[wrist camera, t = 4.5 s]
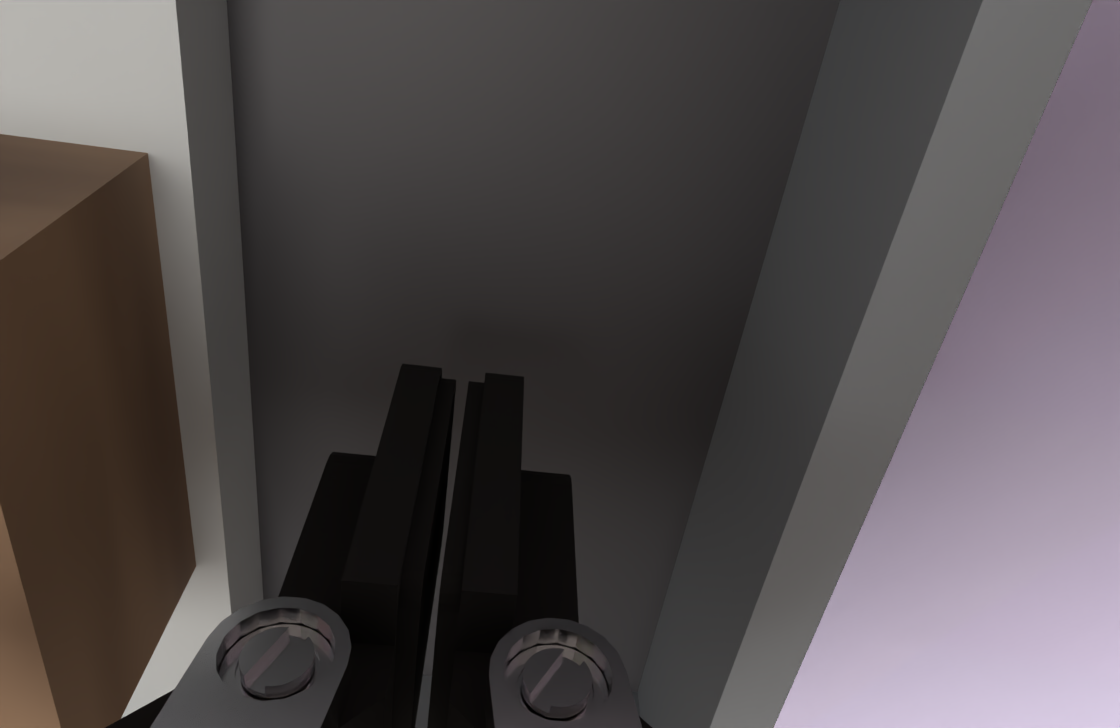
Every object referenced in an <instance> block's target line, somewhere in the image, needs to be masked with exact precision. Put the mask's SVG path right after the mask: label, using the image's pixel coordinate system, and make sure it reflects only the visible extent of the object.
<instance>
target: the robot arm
mask: <svg viewBox="0 0 1120 728" xmlns="http://www.w3.org/2000/svg"><path fill="white" fill-rule="evenodd" d="M455 392H456V380H454V379H445V378H442V368H440V367H430V366H421V365H412V364H402V365H401V368H400V372H399V375H398V379H397V382H396V386H395V389H394V393H393V396H392V400H391V404H390V407H389V411H388V414H387V418H386V421H385V425H384V429H383V432H382V436H381V439H380V443H379V446H378V450H377V454H376V456H372V455H362V454H351V453H341V452H332V453H331V454H330V456H329V458H328V460H327V463H326V465H325V468H324V471H323V474H322V476H321V479H320V482H319V485H318V488H317V490H316V493H315V496H314V499H313V501H312V504H311V507H310V510H309V512H308V515H307V518H306V521H305V524H304V526H303V529H302V532H301V535H300V537H299V540H298V543H297V546H296V549H295V551H294V554H293V557H292V560H291V562H290V565H289V568H288V571H287V574H286V576H285V579H284V582H283V585H282V587H281V590H280V593H279V596H278V597H277V598H271V599H264V600H260V601H258V602H255V603H252V604H250V605H247V606H245V607H242V608H240V609H238V610H237V611H235V612H234V613H232V614H231V615H230V616H228V617H227V618H225V619H224V620H222V621H221V622H220V623H219V624H218V626H217V627H216V628H215V629H214V630H213V631H212V633H211V634H210V635H209V636H208V637H207V639H206V640H205V642H204V643H203V645H202V647H201V648H200V650H199V651H198V653H197V654H196V656H195V658H194V659H193V661H192V662H191V664H190V665H189V667H188V669H187V670H186V672H185V673H184V675H183V676H182V678H181V680H180V681H179V683H178V684H177V686H176V687H175V689H174V690H172V691H170V692H168V693H167V694H165V695H163V696H161V697H159V698H157V699H156V700H154V701H152V702H150V703H148V704H147V705H145V706H143V707H141V708H139V709H138V710H136V711H134V712H132V713H130V714H129V715H127V716H125V717H123V718H121V719H120V720H118V721H116V722H114V723H112V724H111V725H109V726H107V727H105V728H415V725H416V718H417V711H418V704H419V697H420V691H421V684H422V677H423V670H424V663H425V656H426V650H427V643H428V636H429V629H430V622H431V615H432V609H433V602H434V595H435V588H436V581H437V574H438V568H439V561H440V554H441V547H442V538H443V529H444V518H445V507H446V495H447V484H448V472H449V461H450V450H451V438H452V427H453V415H454V404H455ZM523 400H524V376H515V375H505V374H496V373H486V372H485V381H484V383H482V382H473V381H469V383H468V390H467V397H466V404H465V411H464V418H463V426H462V433H461V440H460V447H459V454H458V461H457V468H456V475H455V482H454V490H453V497H452V504H451V511H450V518H449V525H448V532H447V539H446V547H445V554H444V561H443V568H442V576H441V584H440V593H439V602H438V613H437V624H436V635H435V646H434V658H433V669H432V680H431V692H430V703H429V714H428V725H427V728H652V727H651V726H650V725H649V724H648V723H647V722H645V721H644V720H643V719H642V718H641V717H640V716H639V715H638V711H637V707H636V704H635V700H634V697H633V693H632V690H631V686H630V682H629V679H628V675H627V672H626V668H625V666H624V664H623V662H622V660H621V658H620V656H619V653H618V652H617V650H616V649H615V648H614V647H613V646H612V645H611V644H610V643H609V642H608V640H607V639H606V638H605V637H603V636H602V635H600V634H599V633H597V632H596V631H594V630H593V629H591V628H590V627H588V626H586V625H583V624H580V623H579V617H578V597H577V577H576V557H575V537H574V517H573V497H572V482H571V476H570V475H568V474H558V473H548V472H537V471H527V470H521V461H522V431H523Z"/></svg>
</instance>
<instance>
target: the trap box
mask: <svg viewBox="0 0 1120 728" xmlns="http://www.w3.org/2000/svg"><path fill="white" fill-rule="evenodd" d="M1091 3H1092V0H0V134H5V135H13V136H20V137H28V138H36V139H44V140H51V141H59V142H67V143H74V144H82V145H90V146H98V147H105V148H113V149H121V150H129V151H136V152H144V153H148V159H149V167H150V176H151V184H152V193H153V201H154V210H155V218H156V227H157V235H158V244H159V253H160V261H161V270H162V278H163V287H164V295H165V304H166V312H167V321H168V329H169V338H170V346H171V355H172V363H173V372H174V381H175V389H176V398H177V406H178V415H179V423H180V432H181V440H182V449H183V457H184V466H185V474H186V483H187V491H188V500H189V509H190V517H191V526H192V534H193V543H194V551H195V560H196V568H195V570H194V572H193V574H192V576H191V578H190V580H189V582H188V584H187V586H186V588H185V590H184V592H183V594H182V596H181V598H180V600H179V602H178V604H177V606H176V608H175V610H174V612H173V614H172V616H171V618H170V620H169V622H168V624H167V626H166V628H165V630H164V632H163V634H162V636H161V638H160V641H159V643H158V645H157V647H156V649H155V651H154V653H153V655H152V657H151V659H150V661H149V663H148V665H147V667H146V669H145V671H144V673H143V675H142V677H141V679H140V681H139V683H138V685H137V687H136V689H135V691H134V693H133V695H132V697H131V699H130V701H129V703H128V705H127V707H126V709H125V711H124V713H123V715H122V717H121V718H123V717H125V716H127V715H129V714H130V713H132V712H134V711H136V710H138V709H139V708H141V707H143V706H145V705H147V704H148V703H150V702H152V701H154V700H156V699H157V698H159V697H161V696H163V695H165V694H167V693H168V692H170V691H172V690H174V689H175V687H176V686H177V684H178V683H179V681H180V680H181V678H182V676H183V675H184V673H185V672H186V670H187V669H188V667H189V665H190V664H191V662H192V661H193V659H194V658H195V656H196V654H197V653H198V651H199V650H200V648H201V647H202V645H203V643H204V642H205V640H206V639H207V637H208V636H209V635H210V634H211V633H212V631H213V630H214V629H215V628H216V627H217V626H218V624H219V623H220V622H221V621H222V620H224V619H225V618H227V617H228V616H230V615H231V614H232V613H234V612H235V611H237V610H238V609H240V608H242V607H245V606H247V605H250V604H252V603H255V602H258V601H260V600H264V599H271V598H277V597H278V596H279V593H280V590H281V587H282V585H283V582H284V579H285V576H286V574H287V571H288V568H289V565H290V562H291V560H292V557H293V554H294V551H295V549H296V546H297V543H298V540H299V537H300V535H301V532H302V529H303V526H304V524H305V521H306V518H307V515H308V512H309V510H310V507H311V504H312V501H313V499H314V496H315V493H316V490H317V488H318V485H319V482H320V479H321V476H322V474H323V471H324V468H325V465H326V463H327V460H328V458H329V456H330V454H331V453H332V452H341V453H351V454H362V455H372V456H376V454H377V450H378V446H379V443H380V439H381V436H382V432H383V429H384V425H385V421H386V418H387V414H388V411H389V407H390V404H391V400H392V396H393V393H394V389H395V386H396V382H397V379H398V375H399V372H400V368H401V365H402V364H412V365H421V366H430V367H440V368H442V378H445V379H454V380H456V392H455V404H454V415H453V427H452V438H451V450H450V461H449V472H448V484H447V495H446V507H445V518H444V529H443V538H442V547H441V554H440V561H439V568H438V574H437V581H436V588H435V595H434V602H433V609H432V615H431V622H430V629H429V636H428V643H427V650H426V656H425V663H424V670H423V677H422V684H421V691H420V697H419V704H418V711H417V718H416V725H415V728H427V725H428V714H429V703H430V692H431V680H432V669H433V658H434V646H435V635H436V624H437V613H438V602H439V593H440V584H441V576H442V568H443V561H444V554H445V547H446V539H447V532H448V525H449V518H450V511H451V504H452V497H453V490H454V482H455V475H456V468H457V461H458V454H459V447H460V440H461V433H462V426H463V418H464V411H465V404H466V397H467V390H468V383H469V381H473V382H482V383H484V381H485V372H486V373H496V374H505V375H515V376H524V400H523V431H522V461H521V470H527V471H537V472H548V473H558V474H568V475H570V476H571V482H572V497H573V517H574V537H575V557H576V577H577V597H578V617H579V623H580V624H583V625H586V626H588V627H590V628H591V629H593V630H594V631H596V632H597V633H599V634H600V635H602V636H603V637H605V638H606V639H607V640H608V642H609V643H610V644H611V645H612V646H613V647H614V648H615V649H616V650H617V652H618V653H619V656H620V658H621V660H622V662H623V664H624V666H625V668H626V672H627V675H628V679H629V682H630V686H631V690H632V693H633V697H634V700H635V704H636V707H637V711H638V715H639V716H640V717H641V718H642V719H643V720H644V721H645V722H647V723H648V724H649V725H650V726H651V727H652V728H773V727H774V725H775V723H776V721H777V718H778V716H779V714H780V711H781V709H782V707H783V705H784V702H785V700H786V698H787V695H788V693H789V691H790V689H791V686H792V684H793V682H794V679H795V677H796V675H797V673H798V670H799V668H800V666H801V664H802V661H803V659H804V657H805V654H806V652H807V650H808V648H809V645H810V643H811V641H812V638H813V636H814V634H815V632H816V629H817V627H818V625H819V623H820V620H821V618H822V616H823V613H824V611H825V609H826V607H827V604H828V602H829V600H830V597H831V595H832V593H833V591H834V588H835V586H836V584H837V582H838V579H839V577H840V575H841V572H842V570H843V568H844V566H845V563H846V561H847V559H848V556H849V554H850V552H851V550H852V547H853V545H854V543H855V540H856V538H857V536H858V534H859V531H860V529H861V527H862V525H863V522H864V520H865V518H866V515H867V513H868V511H869V509H870V506H871V504H872V502H873V499H874V497H875V495H876V493H877V490H878V488H879V486H880V484H881V481H882V479H883V477H884V474H885V472H886V470H887V468H888V465H889V463H890V461H891V458H892V456H893V454H894V452H895V449H896V447H897V445H898V442H899V440H900V438H901V436H902V433H903V431H904V429H905V427H906V424H907V422H908V420H909V417H910V415H911V413H912V411H913V408H914V406H915V404H916V401H917V399H918V397H919V395H920V392H921V390H922V388H923V386H924V383H925V381H926V379H927V376H928V374H929V372H930V370H931V367H932V365H933V363H934V360H935V358H936V356H937V354H938V351H939V349H940V347H941V344H942V342H943V340H944V338H945V335H946V333H947V331H948V329H949V326H950V324H951V322H952V319H953V317H954V315H955V313H956V310H957V308H958V306H959V303H960V301H961V299H962V297H963V294H964V292H965V290H966V288H967V285H968V283H969V281H970V278H971V276H972V274H973V272H974V269H975V267H976V265H977V262H978V260H979V258H980V256H981V253H982V251H983V249H984V247H985V244H986V242H987V240H988V237H989V235H990V233H991V231H992V228H993V226H994V224H995V221H996V219H997V217H998V215H999V212H1000V210H1001V208H1002V205H1003V203H1004V201H1005V199H1006V196H1007V194H1008V192H1009V190H1010V187H1011V185H1012V183H1013V180H1014V178H1015V176H1016V174H1017V171H1018V169H1019V167H1020V164H1021V162H1022V160H1023V158H1024V155H1025V153H1026V151H1027V149H1028V146H1029V144H1030V142H1031V139H1032V137H1033V135H1034V133H1035V130H1036V128H1037V126H1038V123H1039V121H1040V119H1041V117H1042V114H1043V112H1044V110H1045V107H1046V105H1047V103H1048V101H1049V98H1050V96H1051V94H1052V92H1053V89H1054V87H1055V85H1056V82H1057V80H1058V78H1059V76H1060V73H1061V71H1062V69H1063V66H1064V64H1065V62H1066V60H1067V57H1068V55H1069V53H1070V51H1071V48H1072V46H1073V44H1074V41H1075V39H1076V37H1077V35H1078V32H1079V30H1080V28H1081V25H1082V23H1083V21H1084V19H1085V16H1086V14H1087V12H1088V10H1089V7H1090V5H1091Z"/></svg>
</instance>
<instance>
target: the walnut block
mask: <svg viewBox="0 0 1120 728" xmlns="http://www.w3.org/2000/svg"><path fill="white" fill-rule="evenodd" d="M195 568H196V560H195V551H194V543H193V534H192V526H191V517H190V509H189V500H188V491H187V483H186V474H185V466H184V457H183V449H182V440H181V432H180V423H179V415H178V406H177V398H176V389H175V381H174V372H173V363H172V355H171V346H170V338H169V329H168V321H167V312H166V304H165V295H164V287H163V278H162V270H161V261H160V253H159V244H158V235H157V227H156V218H155V210H154V201H153V193H152V184H151V176H150V167H149V159H148V153H144V152H136V151H129V150H121V149H113V148H105V147H98V146H90V145H82V144H74V143H67V142H59V141H51V140H44V139H36V138H28V137H20V136H13V135H5V134H0V728H105V727H107V726H109V725H111V724H112V723H114V722H116V721H118V720H120V719H121V717H122V715H123V713H124V711H125V709H126V707H127V705H128V703H129V701H130V699H131V697H132V695H133V693H134V691H135V689H136V687H137V685H138V683H139V681H140V679H141V677H142V675H143V673H144V671H145V669H146V667H147V665H148V663H149V661H150V659H151V657H152V655H153V653H154V651H155V649H156V647H157V645H158V643H159V641H160V638H161V636H162V634H163V632H164V630H165V628H166V626H167V624H168V622H169V620H170V618H171V616H172V614H173V612H174V610H175V608H176V606H177V604H178V602H179V600H180V598H181V596H182V594H183V592H184V590H185V588H186V586H187V584H188V582H189V580H190V578H191V576H192V574H193V572H194V570H195Z"/></svg>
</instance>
